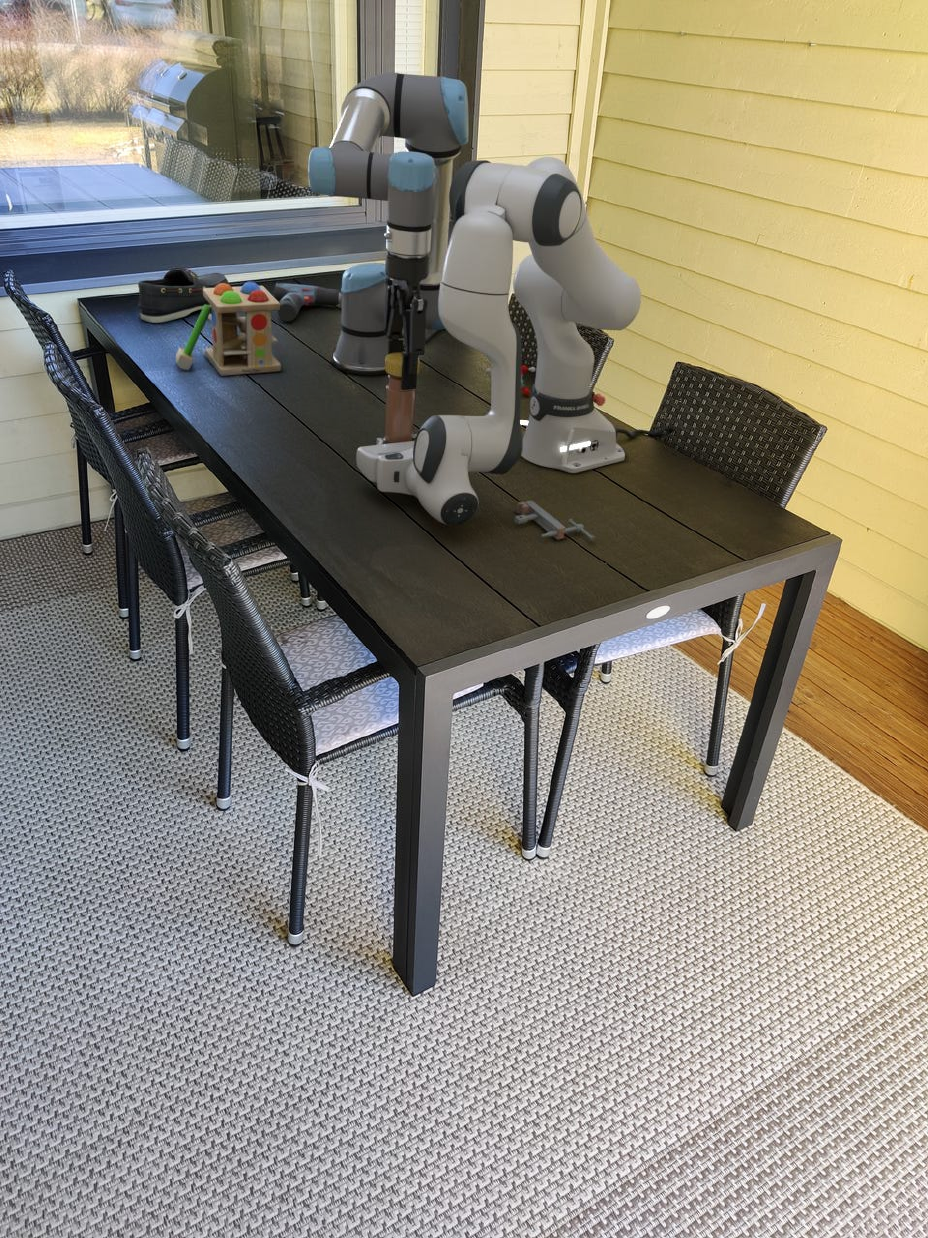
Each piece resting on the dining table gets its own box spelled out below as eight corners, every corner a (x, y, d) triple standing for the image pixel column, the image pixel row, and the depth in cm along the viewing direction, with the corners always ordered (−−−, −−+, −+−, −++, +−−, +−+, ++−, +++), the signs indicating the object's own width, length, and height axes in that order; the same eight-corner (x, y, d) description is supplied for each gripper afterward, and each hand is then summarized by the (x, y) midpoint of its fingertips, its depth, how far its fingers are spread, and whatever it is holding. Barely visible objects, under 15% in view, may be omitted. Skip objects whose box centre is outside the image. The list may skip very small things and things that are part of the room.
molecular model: (531, 395, 220) (517, 352, 219) (493, 409, 224) (479, 367, 222) (543, 394, 231) (530, 352, 229) (507, 407, 234) (494, 366, 233)
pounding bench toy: (183, 379, 220) (176, 299, 210) (169, 357, 231) (162, 280, 221) (282, 371, 230) (280, 294, 220) (264, 350, 240) (262, 276, 230)
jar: (408, 467, 194) (414, 371, 183) (412, 479, 189) (418, 381, 178) (381, 467, 193) (385, 370, 182) (384, 479, 188) (388, 381, 177)
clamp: (504, 504, 179) (549, 495, 183) (503, 515, 180) (548, 506, 184) (550, 543, 168) (597, 532, 173) (548, 554, 169) (595, 543, 174)
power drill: (335, 306, 256) (344, 285, 273) (264, 300, 255) (277, 279, 272) (335, 327, 259) (344, 304, 276) (264, 320, 258) (277, 299, 275)
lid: (381, 374, 177) (382, 362, 176) (387, 362, 182) (388, 350, 181) (416, 378, 177) (417, 366, 175) (421, 366, 182) (422, 354, 181)
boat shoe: (248, 301, 272) (246, 262, 267) (158, 325, 248) (153, 283, 243) (214, 293, 278) (211, 255, 272) (123, 315, 254) (117, 274, 248)
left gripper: (367, 238, 173) (363, 364, 186) (409, 269, 159) (402, 403, 172) (406, 237, 176) (400, 361, 189) (450, 267, 162) (441, 399, 175)
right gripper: (477, 448, 180) (447, 418, 190) (372, 460, 172) (346, 429, 182) (474, 479, 183) (444, 448, 194) (371, 492, 175) (346, 460, 186)
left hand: (401, 381), depth 181 cm, fingers closed on lid, 6 cm apart
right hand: (396, 439), depth 188 cm, fingers closed on jar, 5 cm apart
